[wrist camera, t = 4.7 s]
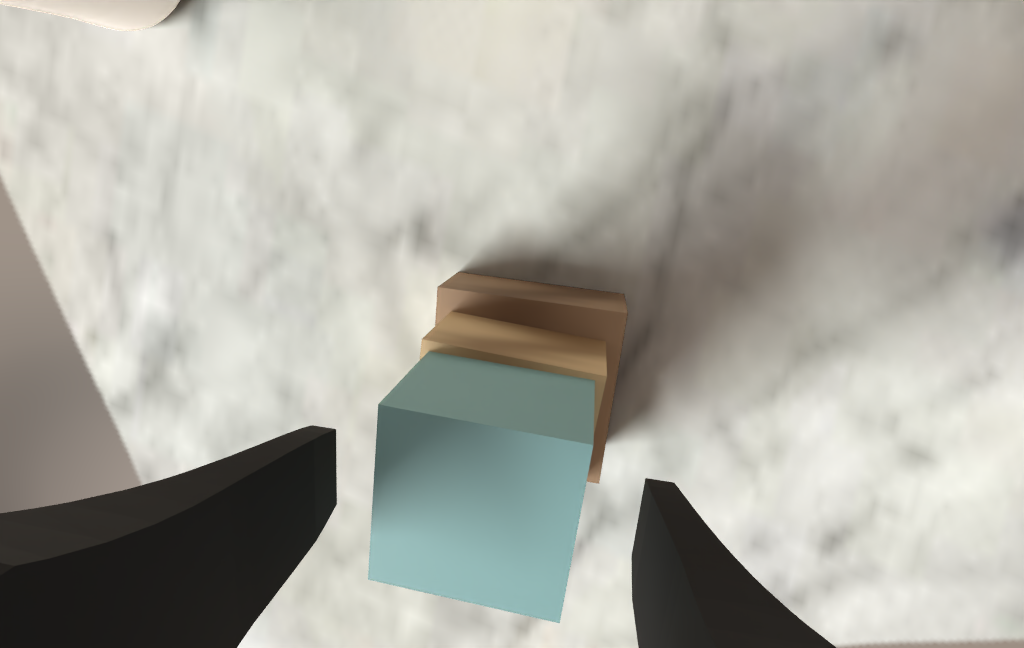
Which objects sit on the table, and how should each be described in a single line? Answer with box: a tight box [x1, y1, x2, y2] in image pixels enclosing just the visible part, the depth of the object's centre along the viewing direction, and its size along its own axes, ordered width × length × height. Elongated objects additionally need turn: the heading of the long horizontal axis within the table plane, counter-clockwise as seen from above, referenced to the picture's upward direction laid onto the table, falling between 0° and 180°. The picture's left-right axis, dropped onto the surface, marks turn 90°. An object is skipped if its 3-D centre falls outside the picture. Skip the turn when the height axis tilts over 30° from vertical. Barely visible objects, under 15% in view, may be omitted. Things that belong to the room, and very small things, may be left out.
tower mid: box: [420, 311, 607, 432], centre depth 16 cm, size 5×5×3 cm
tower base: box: [435, 272, 628, 484], centre depth 19 cm, size 6×6×3 cm
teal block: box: [368, 351, 595, 623], centre depth 13 cm, size 4×4×4 cm
